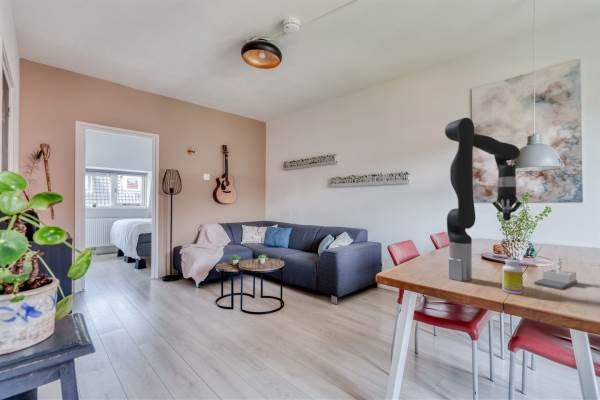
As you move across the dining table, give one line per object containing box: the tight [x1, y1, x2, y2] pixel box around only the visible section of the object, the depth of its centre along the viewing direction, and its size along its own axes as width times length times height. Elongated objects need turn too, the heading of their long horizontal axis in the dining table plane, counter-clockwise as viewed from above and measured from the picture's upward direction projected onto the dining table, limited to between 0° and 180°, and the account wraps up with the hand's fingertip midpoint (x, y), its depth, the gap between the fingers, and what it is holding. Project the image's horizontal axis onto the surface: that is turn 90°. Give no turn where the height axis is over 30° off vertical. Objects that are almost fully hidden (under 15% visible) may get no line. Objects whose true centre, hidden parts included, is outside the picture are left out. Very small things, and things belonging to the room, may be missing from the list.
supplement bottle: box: [501, 258, 524, 295], centre depth 116 cm, size 7×7×13 cm
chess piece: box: [555, 256, 563, 273], centre depth 130 cm, size 5×5×10 cm
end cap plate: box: [533, 268, 578, 291], centre depth 128 cm, size 20×9×5 cm, turn 122°
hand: (506, 220), depth 144 cm, fingers closed
